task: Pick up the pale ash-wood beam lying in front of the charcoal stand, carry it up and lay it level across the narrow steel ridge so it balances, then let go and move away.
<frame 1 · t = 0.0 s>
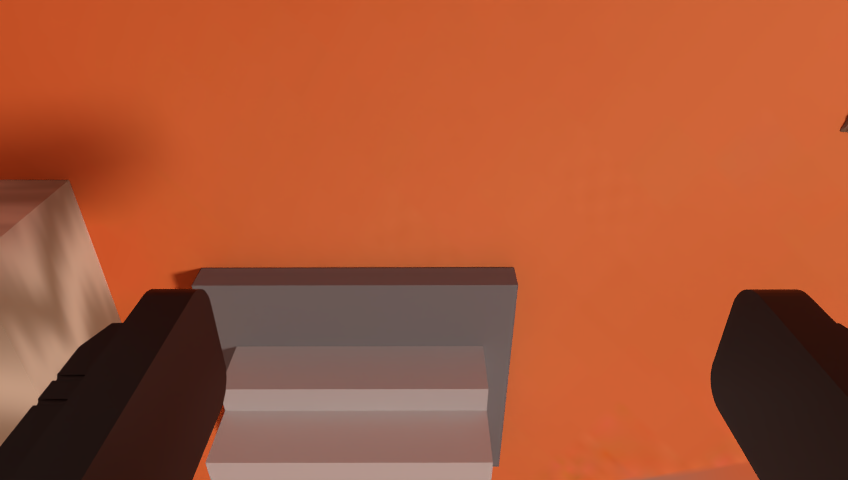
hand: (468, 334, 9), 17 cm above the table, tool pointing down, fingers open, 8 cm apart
ash bar: (97, 338, 32), on the table
ridge stand: (365, 367, 33), on the table
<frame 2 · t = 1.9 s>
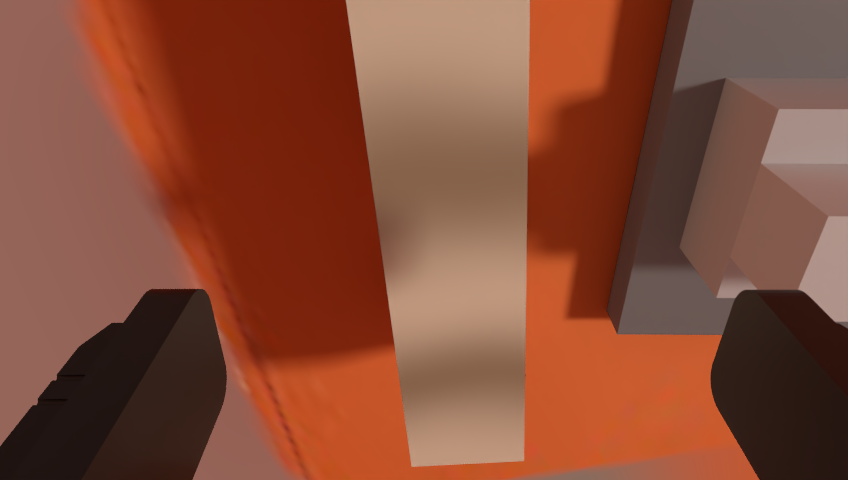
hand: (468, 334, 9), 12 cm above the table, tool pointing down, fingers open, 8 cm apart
ash bar: (442, 92, 19), on the table
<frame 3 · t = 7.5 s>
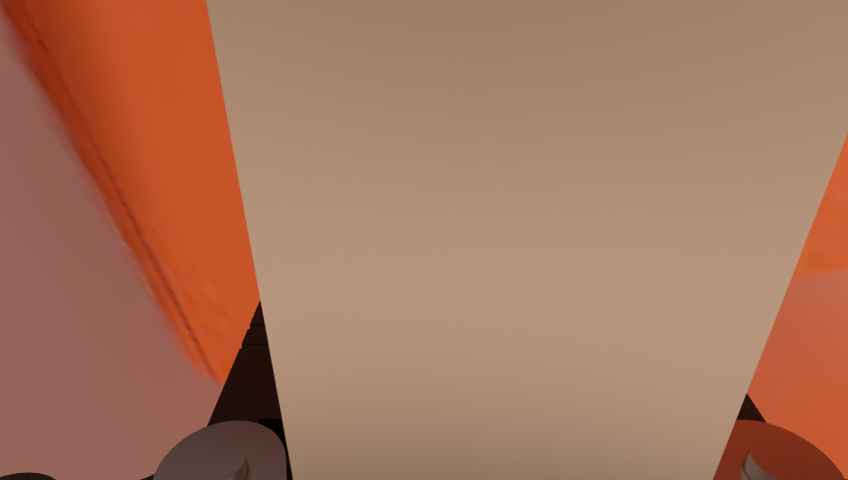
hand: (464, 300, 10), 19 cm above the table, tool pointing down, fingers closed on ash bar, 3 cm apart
ash bar: (457, 240, 12), point 17 cm above the table, touching gripper
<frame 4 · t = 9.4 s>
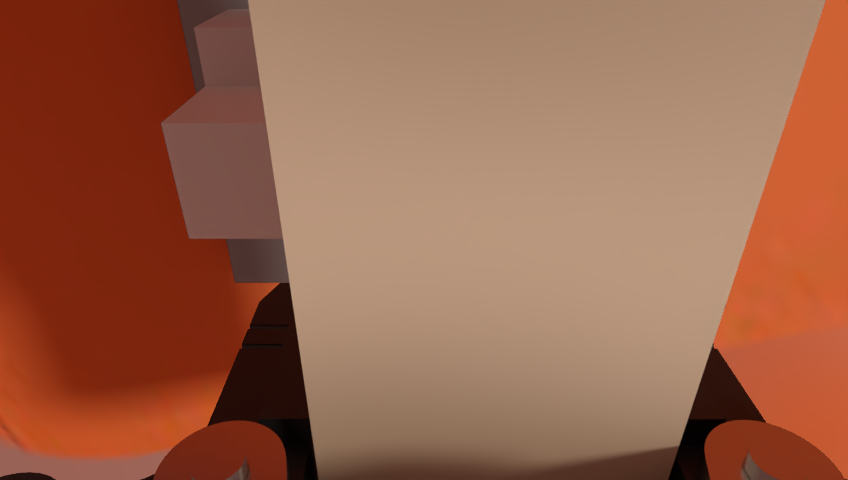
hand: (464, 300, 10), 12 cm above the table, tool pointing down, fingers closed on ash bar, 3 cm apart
ash bar: (457, 222, 12), point 9 cm above the table, touching gripper
ridge stand: (441, 93, 20), on the table
when the fingers open (10 cm above the table, at t = 10.9 s): ash bar stays where it is, resting on ridge stand.
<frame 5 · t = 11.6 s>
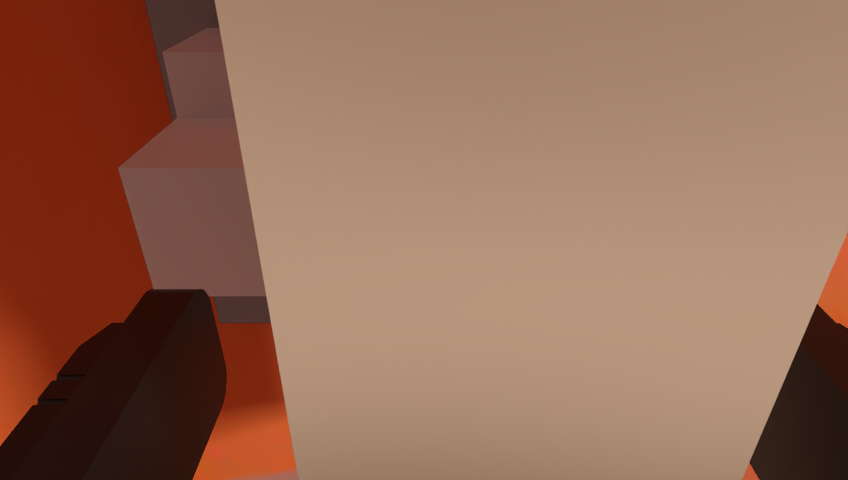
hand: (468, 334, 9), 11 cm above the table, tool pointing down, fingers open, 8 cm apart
ash bar: (462, 245, 12), point 7 cm above the table, touching ridge stand
ridge stand: (445, 118, 18), on the table
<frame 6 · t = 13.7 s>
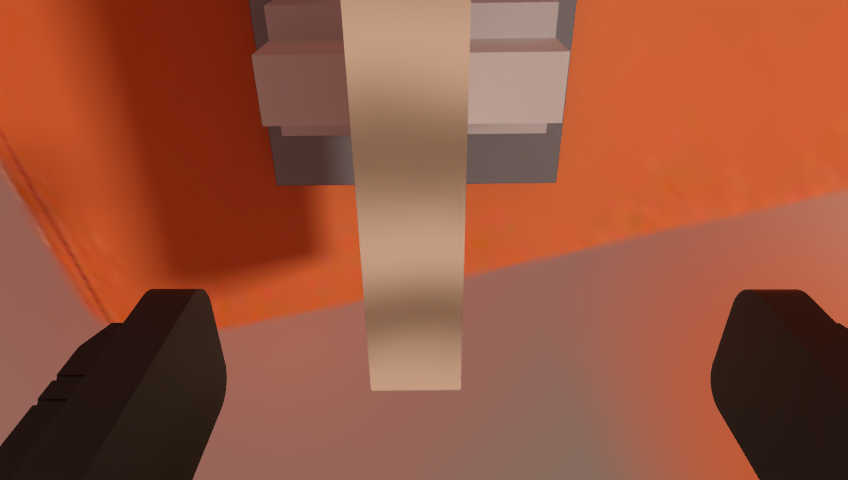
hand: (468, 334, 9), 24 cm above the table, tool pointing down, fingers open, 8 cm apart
ash bar: (413, 95, 24), point 7 cm above the table, touching ridge stand
ridge stand: (414, 52, 30), on the table
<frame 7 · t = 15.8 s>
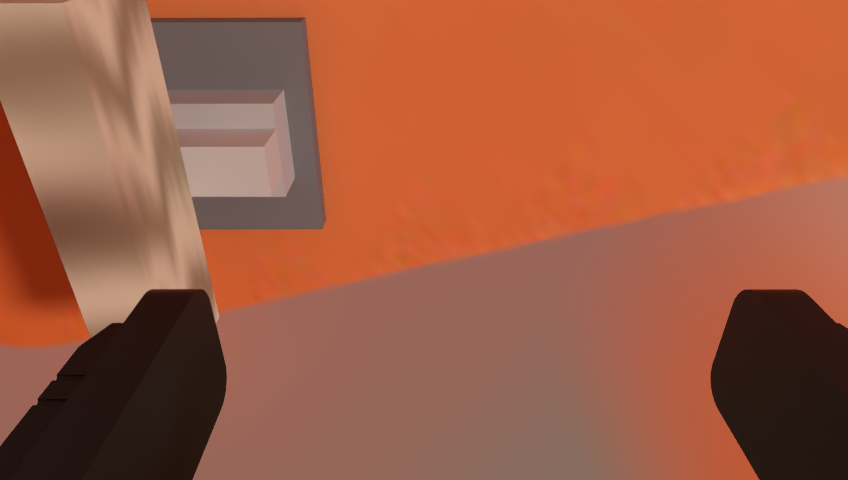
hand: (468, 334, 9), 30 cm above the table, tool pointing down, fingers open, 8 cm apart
ash bar: (154, 176, 32), point 7 cm above the table, touching ridge stand
ridge stand: (198, 127, 38), on the table
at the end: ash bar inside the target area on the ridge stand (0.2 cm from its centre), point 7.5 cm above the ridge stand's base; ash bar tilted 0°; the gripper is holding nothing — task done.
